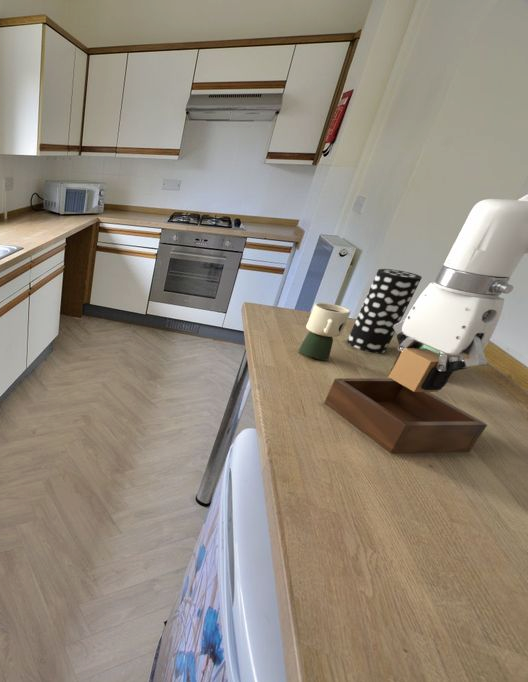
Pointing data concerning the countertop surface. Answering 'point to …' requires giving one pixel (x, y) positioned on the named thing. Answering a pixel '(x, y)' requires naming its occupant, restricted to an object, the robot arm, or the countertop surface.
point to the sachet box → (414, 368)
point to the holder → (403, 416)
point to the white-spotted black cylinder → (383, 309)
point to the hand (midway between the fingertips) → (415, 379)
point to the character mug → (323, 329)
